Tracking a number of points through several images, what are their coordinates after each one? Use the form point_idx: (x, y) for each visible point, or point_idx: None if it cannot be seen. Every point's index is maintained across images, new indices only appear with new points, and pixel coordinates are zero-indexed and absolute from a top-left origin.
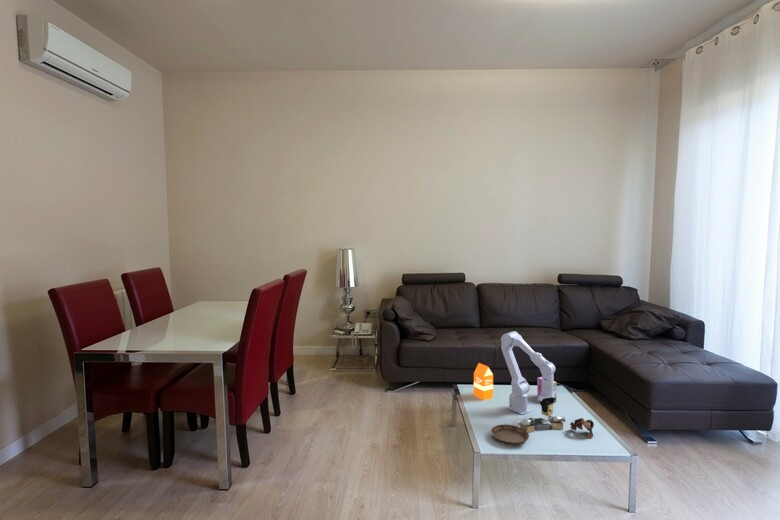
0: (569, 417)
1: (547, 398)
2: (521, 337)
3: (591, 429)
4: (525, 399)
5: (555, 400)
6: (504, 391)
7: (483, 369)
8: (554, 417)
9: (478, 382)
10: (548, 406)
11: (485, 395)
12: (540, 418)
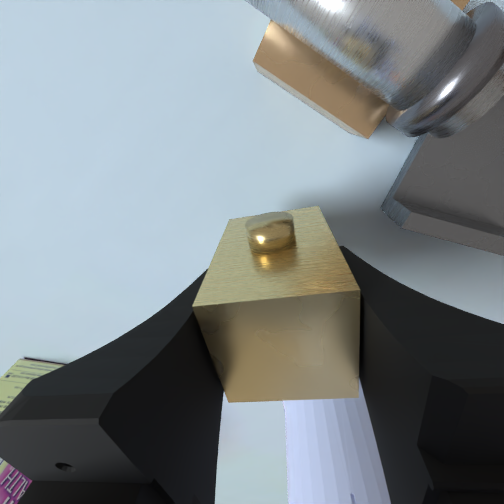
0: (46, 158)
1: (205, 449)
2: None
3: None
4: (362, 481)
5: (21, 366)
6: (221, 486)
7: None
8: (435, 17)
9: None
10: (353, 279)
11: None
12: (427, 220)
